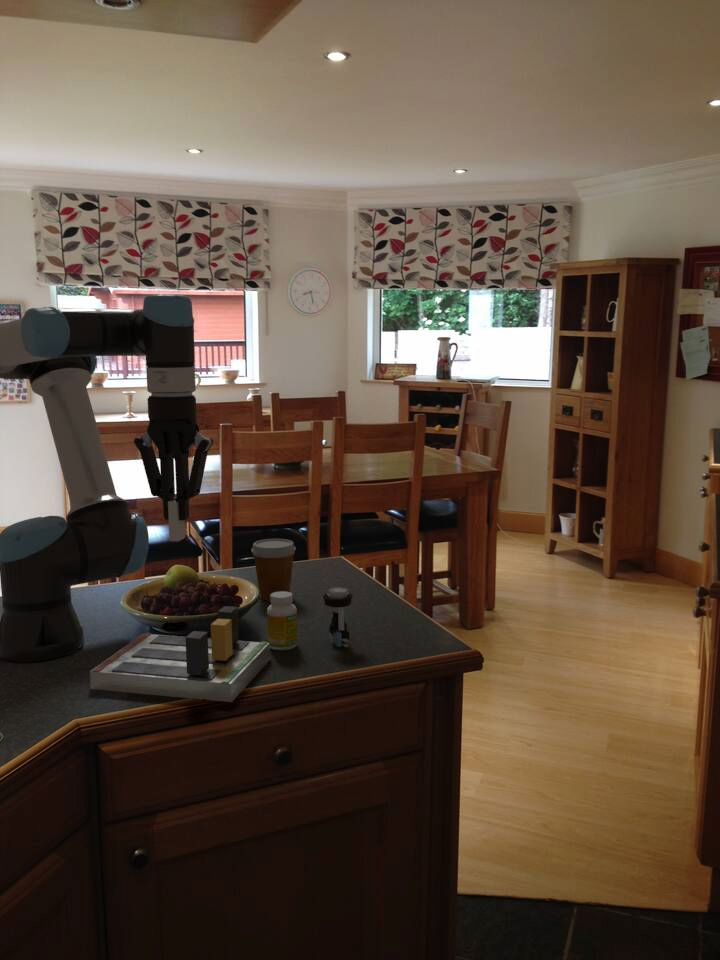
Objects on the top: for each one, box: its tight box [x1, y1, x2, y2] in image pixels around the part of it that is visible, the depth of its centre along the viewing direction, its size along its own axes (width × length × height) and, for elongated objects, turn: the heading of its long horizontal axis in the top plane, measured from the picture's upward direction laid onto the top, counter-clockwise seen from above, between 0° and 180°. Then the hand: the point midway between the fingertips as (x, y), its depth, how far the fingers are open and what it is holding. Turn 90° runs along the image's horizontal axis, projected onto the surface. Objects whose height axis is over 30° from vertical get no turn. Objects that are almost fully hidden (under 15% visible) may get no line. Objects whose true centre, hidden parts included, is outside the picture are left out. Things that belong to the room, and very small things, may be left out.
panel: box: [89, 605, 271, 703], centre depth 140 cm, size 24×18×10 cm
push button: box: [322, 587, 353, 648], centre depth 154 cm, size 7×5×10 cm
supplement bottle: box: [266, 591, 298, 651], centre depth 153 cm, size 5×5×10 cm
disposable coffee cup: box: [250, 538, 297, 602], centre depth 182 cm, size 10×10×12 cm
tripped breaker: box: [210, 618, 233, 661], centre depth 139 cm, size 2×3×6 cm
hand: (177, 539), depth 138 cm, fingers closed
